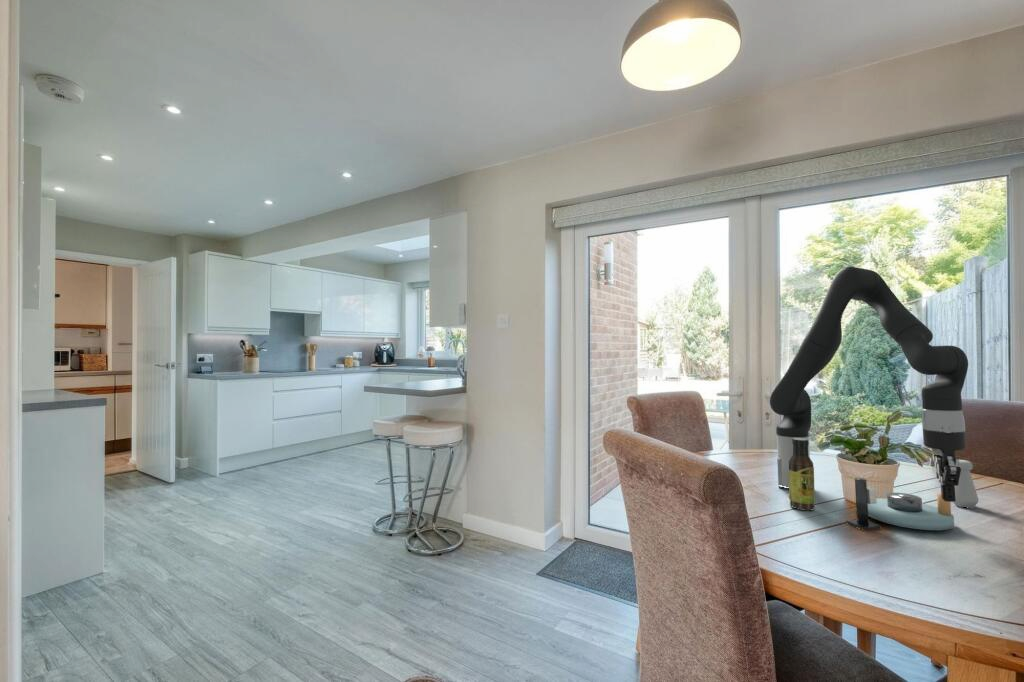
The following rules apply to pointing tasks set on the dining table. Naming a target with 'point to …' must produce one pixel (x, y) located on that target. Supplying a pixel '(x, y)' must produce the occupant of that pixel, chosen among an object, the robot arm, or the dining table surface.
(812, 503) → the sauce bottle
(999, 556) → the dining table surface
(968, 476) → the salt shaker
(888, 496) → the cover
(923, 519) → the turntable
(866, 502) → the post
